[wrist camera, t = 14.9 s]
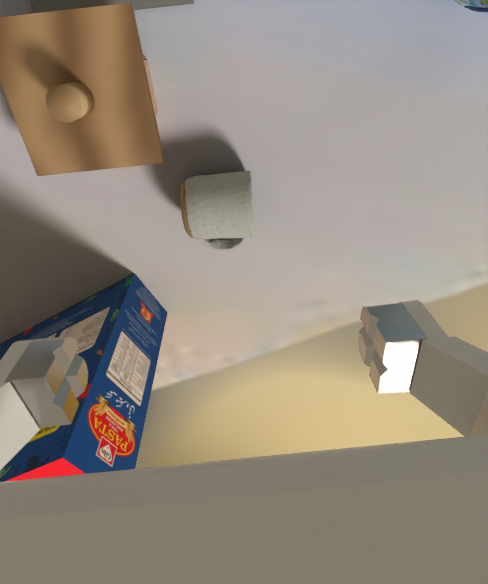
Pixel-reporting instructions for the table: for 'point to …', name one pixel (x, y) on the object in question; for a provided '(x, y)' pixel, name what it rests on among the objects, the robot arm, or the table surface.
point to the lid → (79, 89)
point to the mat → (100, 4)
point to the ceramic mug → (218, 208)
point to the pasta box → (98, 384)
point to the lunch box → (474, 5)
